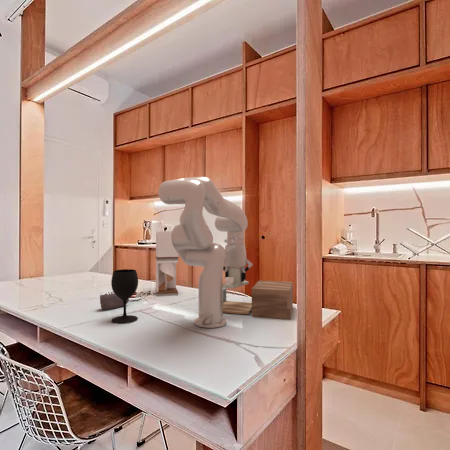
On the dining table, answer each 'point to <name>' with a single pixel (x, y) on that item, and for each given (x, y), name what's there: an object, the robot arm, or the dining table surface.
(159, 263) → the display case
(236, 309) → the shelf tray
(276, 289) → the brown wooden block
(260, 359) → the dining table surface
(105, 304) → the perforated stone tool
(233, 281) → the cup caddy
